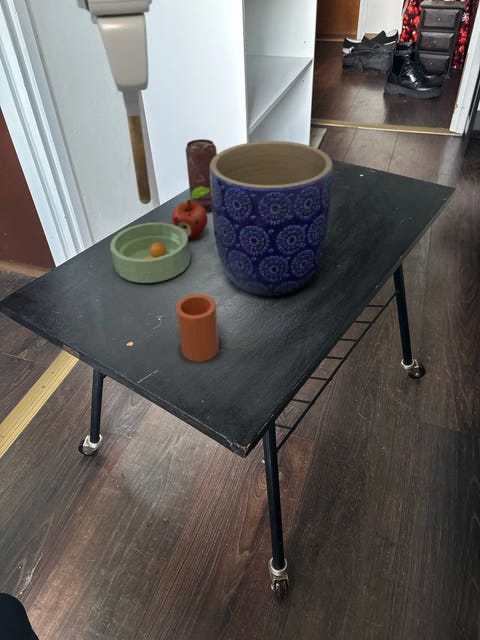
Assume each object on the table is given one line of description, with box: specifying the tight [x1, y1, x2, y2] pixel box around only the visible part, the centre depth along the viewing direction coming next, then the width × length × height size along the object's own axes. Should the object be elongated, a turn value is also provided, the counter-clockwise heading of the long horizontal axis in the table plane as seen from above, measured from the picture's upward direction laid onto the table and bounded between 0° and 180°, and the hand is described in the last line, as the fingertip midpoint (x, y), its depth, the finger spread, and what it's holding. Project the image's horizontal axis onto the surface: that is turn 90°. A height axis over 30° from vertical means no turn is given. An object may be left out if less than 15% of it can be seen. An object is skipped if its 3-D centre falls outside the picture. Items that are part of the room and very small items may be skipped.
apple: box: [171, 186, 210, 240], centre depth 92 cm, size 8×7×10 cm
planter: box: [210, 140, 334, 297], centre depth 77 cm, size 18×18×21 cm
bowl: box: [109, 222, 191, 284], centre depth 86 cm, size 14×14×5 cm
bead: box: [150, 242, 166, 258], centre depth 87 cm, size 3×3×3 cm
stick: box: [126, 113, 152, 205], centre depth 67 cm, size 2×2×19 cm
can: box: [185, 138, 218, 214], centre depth 101 cm, size 6×6×14 cm
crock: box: [175, 293, 220, 363], centre depth 67 cm, size 5×5×8 cm
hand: (132, 111), depth 65 cm, fingers closed on stick, 2 cm apart
